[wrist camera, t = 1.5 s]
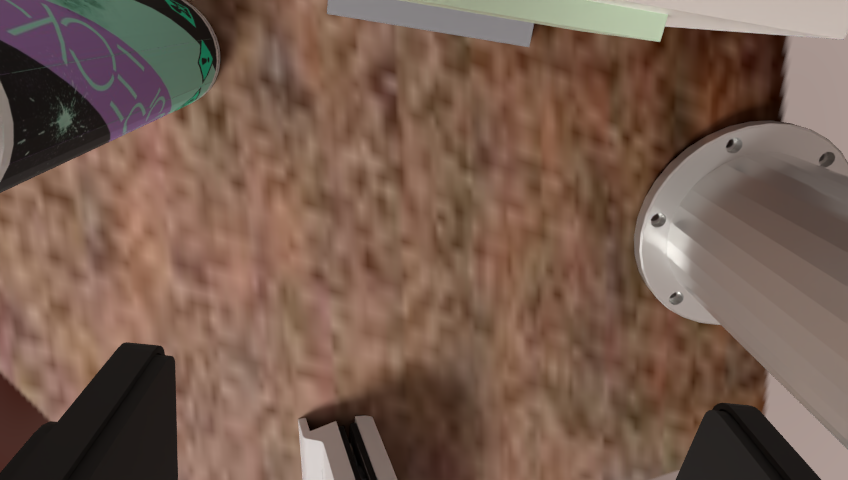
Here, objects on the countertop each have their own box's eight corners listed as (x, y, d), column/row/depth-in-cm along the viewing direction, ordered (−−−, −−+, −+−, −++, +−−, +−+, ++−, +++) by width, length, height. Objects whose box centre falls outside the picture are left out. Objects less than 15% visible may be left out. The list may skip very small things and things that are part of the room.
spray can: (150, 122, 29) (-279, 322, 11) (86, 19, 27) (-582, 48, 9) (241, 80, 28) (-47, 215, 10) (182, -29, 26) (-316, -109, 8)
